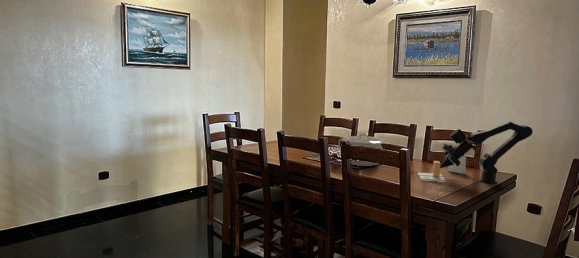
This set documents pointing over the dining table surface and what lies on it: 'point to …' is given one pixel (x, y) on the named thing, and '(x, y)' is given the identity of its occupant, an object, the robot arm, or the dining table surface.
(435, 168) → the switch knob
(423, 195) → the dining table surface
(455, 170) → the photo printer
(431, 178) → the switch panel
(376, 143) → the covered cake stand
